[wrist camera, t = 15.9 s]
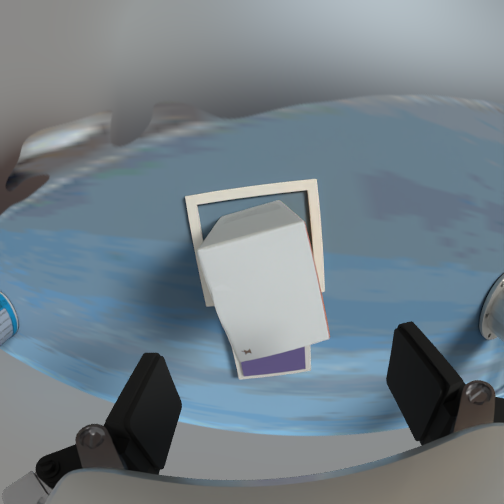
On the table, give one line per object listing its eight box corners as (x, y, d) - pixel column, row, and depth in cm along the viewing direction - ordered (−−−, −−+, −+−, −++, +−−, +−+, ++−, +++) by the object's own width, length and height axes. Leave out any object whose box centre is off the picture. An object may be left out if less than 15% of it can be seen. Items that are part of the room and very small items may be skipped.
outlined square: (315, 178, 26) (316, 179, 26) (323, 290, 30) (324, 291, 29) (186, 196, 27) (185, 196, 26) (206, 305, 30) (206, 306, 30)
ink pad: (307, 304, 30) (309, 310, 29) (309, 365, 32) (311, 372, 31) (226, 314, 30) (225, 320, 29) (239, 374, 33) (239, 380, 32)
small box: (300, 271, 29) (332, 341, 16) (242, 287, 29) (236, 366, 17) (280, 197, 27) (305, 218, 14) (219, 215, 27) (191, 251, 15)
